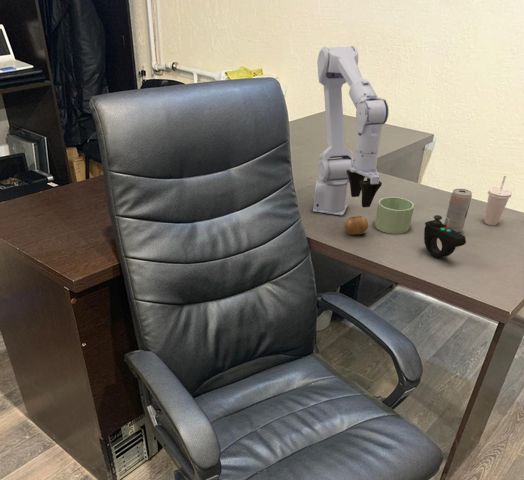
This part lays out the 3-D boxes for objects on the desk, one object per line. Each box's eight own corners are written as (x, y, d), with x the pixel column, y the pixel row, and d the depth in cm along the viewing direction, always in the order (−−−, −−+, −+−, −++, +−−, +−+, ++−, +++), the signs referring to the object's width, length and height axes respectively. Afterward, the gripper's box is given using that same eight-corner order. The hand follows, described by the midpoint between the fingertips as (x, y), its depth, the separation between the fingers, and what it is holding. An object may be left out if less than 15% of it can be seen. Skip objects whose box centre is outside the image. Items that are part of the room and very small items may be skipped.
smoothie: (502, 220, 159) (517, 174, 150) (500, 228, 154) (516, 182, 146) (480, 216, 161) (494, 171, 152) (478, 224, 156) (491, 178, 148)
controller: (428, 245, 145) (436, 211, 139) (461, 265, 136) (472, 229, 130) (416, 249, 143) (424, 214, 137) (449, 268, 135) (459, 232, 128)
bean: (346, 238, 147) (349, 221, 144) (340, 230, 151) (342, 214, 148) (369, 236, 148) (372, 219, 145) (363, 228, 152) (365, 212, 149)
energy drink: (461, 229, 153) (472, 189, 146) (461, 237, 149) (472, 196, 142) (443, 227, 154) (453, 187, 147) (441, 234, 150) (451, 193, 143)
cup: (372, 230, 151) (376, 207, 147) (377, 217, 159) (380, 194, 155) (407, 236, 149) (412, 212, 145) (410, 222, 157) (415, 199, 152)
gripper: (342, 143, 141) (337, 193, 149) (363, 160, 129) (357, 212, 138) (366, 142, 142) (360, 191, 150) (390, 158, 131) (381, 210, 139)
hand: (360, 201), depth 144 cm, fingers open, 7 cm apart
